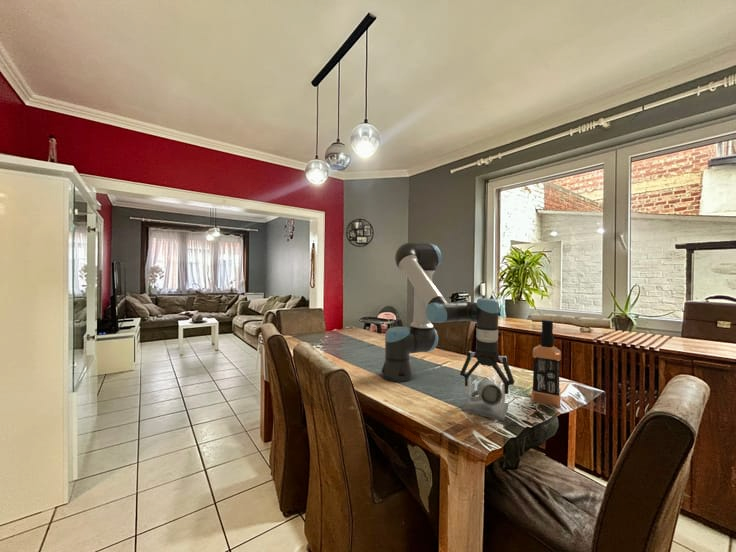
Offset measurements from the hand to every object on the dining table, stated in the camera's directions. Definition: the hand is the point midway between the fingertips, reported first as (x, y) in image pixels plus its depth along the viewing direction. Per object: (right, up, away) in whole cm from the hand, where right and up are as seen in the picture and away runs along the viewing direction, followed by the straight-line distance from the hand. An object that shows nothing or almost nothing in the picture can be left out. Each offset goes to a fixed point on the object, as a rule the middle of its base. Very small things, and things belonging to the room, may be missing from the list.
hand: (485, 398), depth 114 cm
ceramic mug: (0, -1, 0) cm, 1 cm away
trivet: (0, -4, 0) cm, 4 cm away
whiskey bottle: (+27, -4, +8) cm, 29 cm away
